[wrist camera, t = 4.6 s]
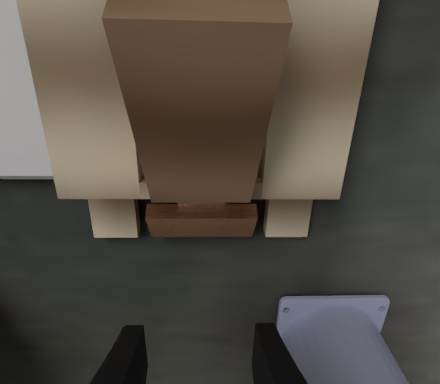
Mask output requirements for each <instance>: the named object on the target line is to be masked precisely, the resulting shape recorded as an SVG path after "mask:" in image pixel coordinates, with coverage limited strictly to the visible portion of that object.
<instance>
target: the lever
mask: <svg viewBox="0 0 440 384" xmlns="http://www.w3.org/2000/svg"><path fill="white" fill-rule="evenodd" d="M145 219H146V222H147V225H148V228H149V231H150V234H151V237H252V236H253V232H254V229H255V226H256V222H257V219H258V217H257V206H256V204H226V203H178V204H147V207H146V216H145Z"/></svg>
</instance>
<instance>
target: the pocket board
mask: <svg viewBox="0 0 440 384" xmlns="http://www.w3.org/2000/svg"><path fill="white" fill-rule="evenodd" d="M106 1H107V0H16V3H17V8H18V12H19V17H20V22H21V27H22V31H23V36H24V41H25V45H26V50H27V55H28V60H29V64H30V69H31V74H32V78H33V83H34V88H35V93H36V97H37V102H38V107H39V111H40V116H41V121H42V126H43V130H44V135H45V140H46V144H47V149H48V154H49V159H50V163H51V168H52V173H53V177H54V182H55V187H56V192H57V196H58V199H88V204H89V210H90V216H91V222H92V228H93V233H94V238H138V235H139V232H140V229H141V227H140V216H139V206H138V199H150V196H149V192H148V188H147V185H146V181H145V177H144V174H143V170H142V166H141V162H140V159H139V155H138V151H137V148H136V144H135V140H134V137H133V133H132V129H131V125H130V122H129V118H128V114H127V111H126V107H125V103H124V100H123V96H122V92H121V89H120V85H119V81H118V77H117V74H116V70H115V66H114V63H113V59H112V55H111V52H110V48H109V44H108V40H107V37H106V33H105V29H104V26H103V22H102V15H103V11H104V8H105V4H106ZM287 1H288V5H289V9H290V13H291V18H292V22H293V24H292V29H291V33H290V37H289V41H288V46H287V50H286V54H285V58H284V62H283V67H282V71H281V75H280V79H279V84H278V88H277V92H276V96H275V101H274V105H273V109H272V113H271V118H270V122H269V126H268V130H267V134H266V139H265V143H264V147H263V151H262V156H261V160H260V164H259V168H258V173H257V177H256V181H255V185H254V190H253V194H252V198H251V199H266V201H265V211H264V222H263V230H264V234H265V237H307V234H308V228H309V222H310V216H311V209H312V203H313V199H340V194H341V189H342V184H343V179H344V174H345V169H346V164H347V159H348V154H349V149H350V144H351V139H352V134H353V129H354V124H355V119H356V114H357V109H358V104H359V99H360V94H361V89H362V84H363V79H364V74H365V69H366V64H367V59H368V54H369V49H370V44H371V39H372V34H373V29H374V24H375V19H376V14H377V9H378V4H379V0H287Z"/></svg>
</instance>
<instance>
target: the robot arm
mask: <svg viewBox="0 0 440 384" xmlns="http://www.w3.org/2000/svg"><path fill="white" fill-rule="evenodd" d="M389 304H390V300H389V299H388V297H387V296H385V295H343V296H285V297H282V298H281V299H280V300H279V306H278V314H277V321H276V326H275V325H274V324H273V323H256V325H255V335H254V346H253V357H252V370H253V380H254V384H409V382H408V381H407V379H406V377H405V375H404V374H403V372H402V370H401V369H400V367H399V365H398V363H397V362H396V360H395V358H394V356H393V355H392V353H391V351H390V350H389V348H388V346H387V344H386V343H385V341H384V339H383V338H382V336H381V334H380V332H381V329H382V326H383V323H384V320H385V317H386V314H387V311H388V307H389ZM381 306H382V307H381ZM284 308H287V309H284ZM147 368H148V363H147V353H146V344H145V335H144V325H126V326H124V327H123V328H122V330H121V332H120V334H119V336H118V338H117V340H116V342H115V343H114V345H113V347H112V349H111V350H110V352H109V354H108V355H107V357H106V359H105V360H104V362H103V363H102V365H101V367H100V368H99V370H98V371H97V373H96V374H95V376H94V377H93V379H92V380H91V382H90V384H146V376H147Z"/></svg>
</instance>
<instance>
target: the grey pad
mask: <svg viewBox="0 0 440 384" xmlns="http://www.w3.org/2000/svg"><path fill="white" fill-rule="evenodd" d="M0 179H54V177H53V173H52V168H51V163H50V159H49V154H48V149H47V144H46V140H45V135H44V130H43V126H42V121H41V116H40V111H39V107H38V102H37V97H36V93H35V88H34V83H33V78H32V74H31V69H30V64H29V60H28V55H27V50H26V45H25V41H24V36H23V31H22V27H21V22H20V17H19V12H18V8H17V3H16V0H0Z"/></svg>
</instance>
